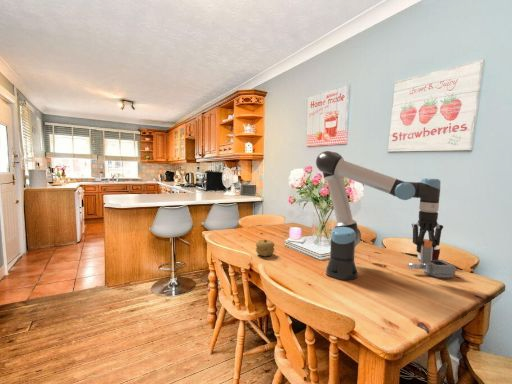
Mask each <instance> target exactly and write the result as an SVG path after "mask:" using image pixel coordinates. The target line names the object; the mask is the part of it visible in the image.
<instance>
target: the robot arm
mask: <svg viewBox="0 0 512 384" xmlns="http://www.w3.org/2000/svg"><path fill="white" fill-rule="evenodd" d="M315 165H316V167H317V169H318V170H319V171H320V172H322V174H323V175H322V176H323V178H324V180H326V181H327V185H328V189H329V194H330V198H331V202H332V207H333V211H334V216H335V220H336V222H335V224H334V228H333V229H331V233H330V255H329V256H330V257H329V260H328V263H327V266H326V269H325V270H326V274H327V276H329V277H331V278H333V279H337V280H341V281H352V280H355V279H357V278H358V268H357V266H356V263H355V251H356V249H355V248H356V247H357V246H358V245H359V243H360V242H361V238H362V234H361V230H360V229H359V228H358V224H357V221H356V220H354V219H353V215H352V214H353V213H352V211H351V210H352V209H351V207H350V206H351V205H350V202H349V198H348V192H347V188H346V184H345V181H344V180H345V179H344V178H346V179H349V180H351V181H354V182H357V183H360V184H362V185H365V186H367V187H370V188H373V189H375V190H378V191H381V192H383V193H386V194H388V195H391V196H393V197H396V198H398V199H399V200H403V201H407V200H411V199H412V198H416V199H419V207H418V208H419V211H418V221H417V222H416V223H412V224H411V227H412V243H413V245H416V250H415V251H416V252H417V259H420V260H422V258H423V246H422V243H423V239H425V235H426V233H428V240H431V241H432V252H431V260H432V253H434V247H439V246H440V243H441V235H442V231H443V228H444V225H442V224H440V223H438V217H439V213H438V212H439V207H440V198H441V197H440V196H441V195H440V194H441V179H439V178H421V181H419V182H415V181H403V180H401V179H398V178H396V177H393V176H389V175H387V174H384V173H381V172H377V171H374V170H372V169H369V168H366V167H364V166H361V165H358V164H355V163H352V162H349V161H347V160H345V159H344V157H343V156H342V155H341V154H339V153H338V152H335V151H331V150H325V151H322V152H321V153H319V154H318V156H317V157H316V160H315Z"/></svg>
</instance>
